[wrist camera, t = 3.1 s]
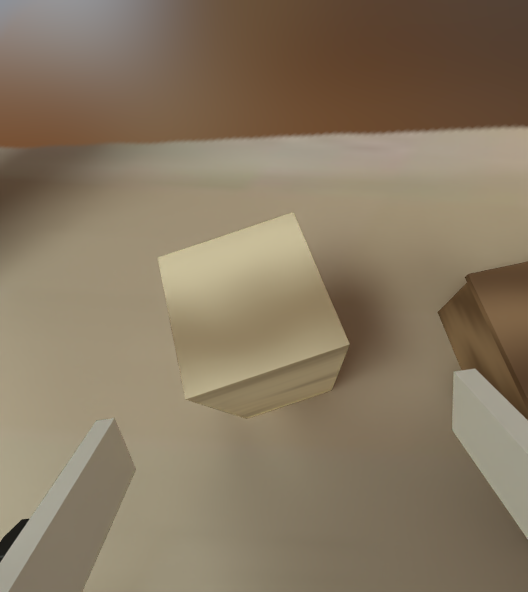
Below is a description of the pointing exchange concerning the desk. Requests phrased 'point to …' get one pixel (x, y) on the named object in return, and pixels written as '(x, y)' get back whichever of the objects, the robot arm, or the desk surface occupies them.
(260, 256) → the oak block
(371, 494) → the desk surface
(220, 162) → the desk surface
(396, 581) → the desk surface
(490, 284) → the walnut box
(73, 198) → the desk surface
